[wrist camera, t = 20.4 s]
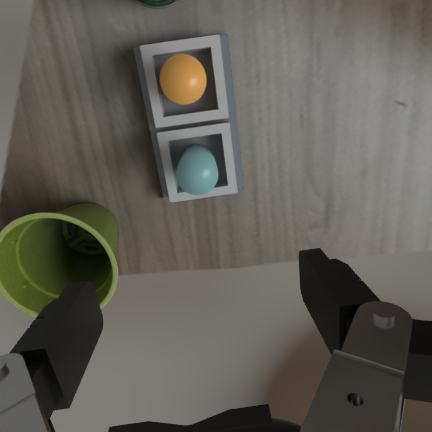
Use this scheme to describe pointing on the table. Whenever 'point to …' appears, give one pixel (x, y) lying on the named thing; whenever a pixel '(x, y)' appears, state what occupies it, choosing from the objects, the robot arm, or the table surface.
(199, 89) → the orange pin
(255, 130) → the table surface
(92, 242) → the plant pot
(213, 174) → the teal pin
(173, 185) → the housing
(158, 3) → the canned tomato
